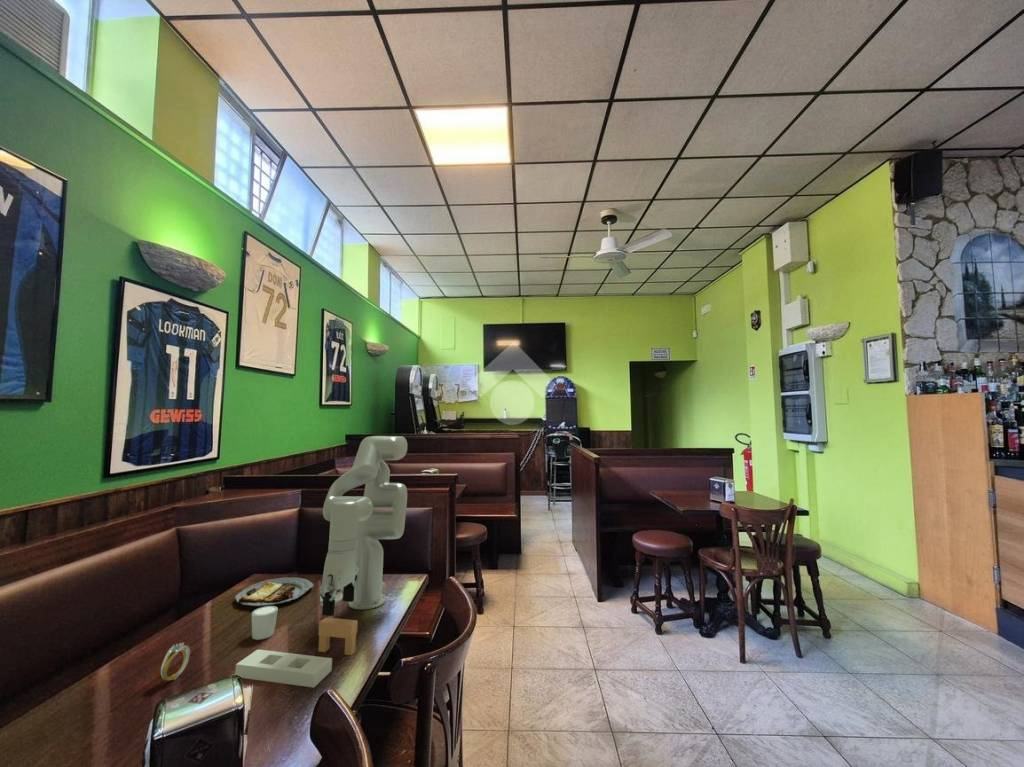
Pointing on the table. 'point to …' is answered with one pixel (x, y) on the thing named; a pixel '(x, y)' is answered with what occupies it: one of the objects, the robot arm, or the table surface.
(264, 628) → the white tapered cylinder
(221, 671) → the table surface
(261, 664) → the slotted rail
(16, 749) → the table surface
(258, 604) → the food plate
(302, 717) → the table surface
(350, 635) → the staple clip
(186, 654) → the bracelet
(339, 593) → the wineglass
